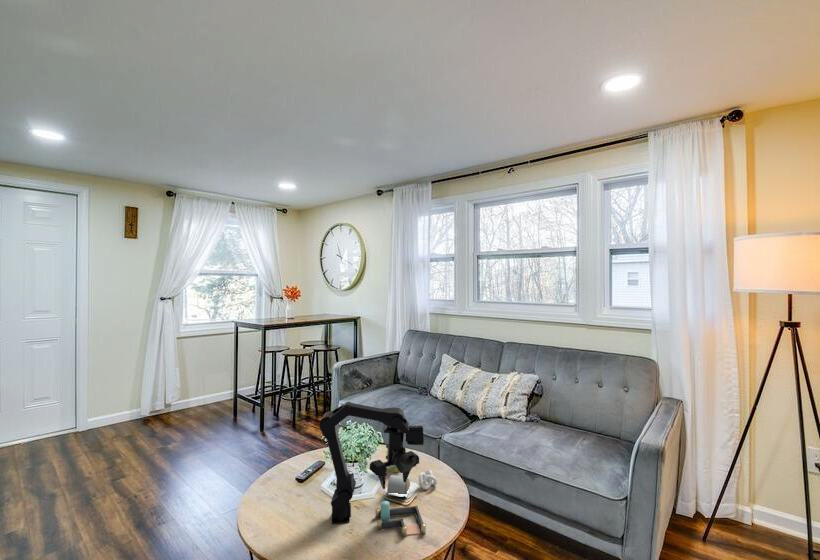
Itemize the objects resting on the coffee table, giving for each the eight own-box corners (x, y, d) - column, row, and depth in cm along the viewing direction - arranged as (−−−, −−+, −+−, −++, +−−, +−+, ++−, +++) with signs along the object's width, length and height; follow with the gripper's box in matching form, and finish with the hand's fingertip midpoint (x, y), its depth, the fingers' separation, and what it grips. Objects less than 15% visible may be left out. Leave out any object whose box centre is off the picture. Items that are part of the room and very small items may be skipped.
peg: (381, 525, 140) (381, 506, 140) (380, 520, 143) (380, 501, 143) (390, 524, 141) (390, 505, 141) (388, 519, 144) (388, 500, 144)
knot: (416, 482, 170) (416, 468, 170) (433, 480, 172) (433, 467, 171) (419, 491, 163) (419, 477, 162) (438, 489, 164) (438, 475, 164)
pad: (406, 535, 135) (406, 534, 135) (404, 526, 140) (404, 525, 140) (420, 533, 136) (420, 532, 136) (417, 524, 141) (417, 523, 141)
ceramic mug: (406, 502, 155) (406, 482, 155) (386, 499, 157) (386, 480, 157) (412, 488, 165) (412, 470, 165) (393, 485, 167) (393, 468, 167)
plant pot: (409, 468, 182) (409, 449, 182) (398, 476, 174) (398, 457, 174) (393, 462, 187) (393, 445, 187) (381, 471, 179) (381, 452, 179)
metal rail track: (379, 540, 132) (379, 531, 132) (375, 516, 145) (375, 508, 145) (426, 534, 135) (426, 526, 135) (417, 511, 149) (417, 503, 149)
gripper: (385, 458, 132) (383, 503, 132) (428, 446, 143) (427, 488, 143) (369, 446, 141) (368, 488, 142) (411, 435, 152) (410, 475, 152)
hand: (394, 485), depth 144 cm, fingers open, 9 cm apart
